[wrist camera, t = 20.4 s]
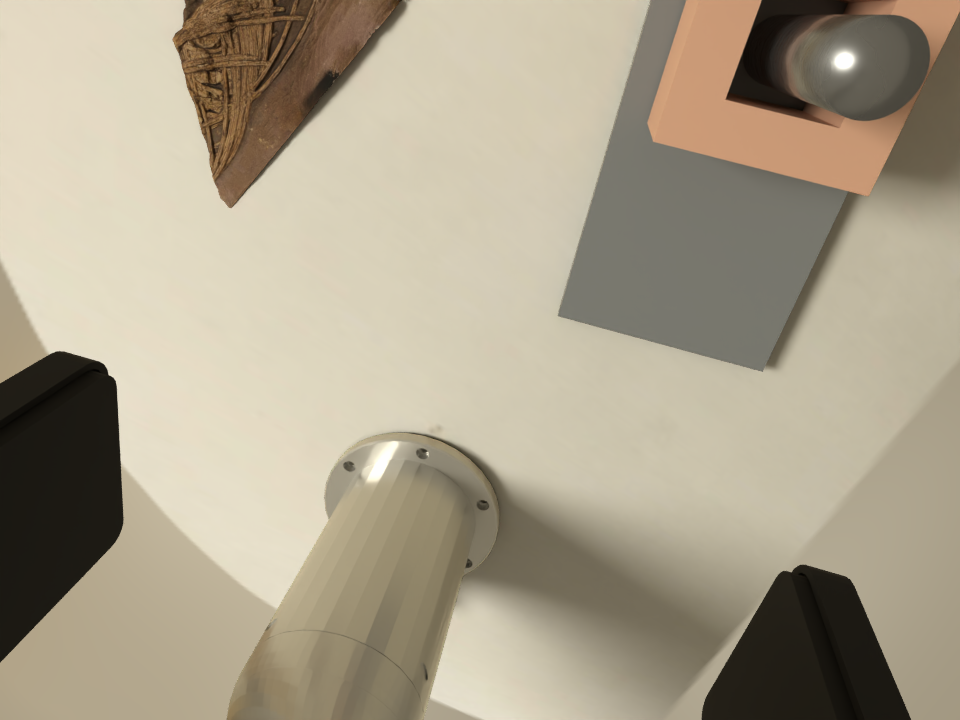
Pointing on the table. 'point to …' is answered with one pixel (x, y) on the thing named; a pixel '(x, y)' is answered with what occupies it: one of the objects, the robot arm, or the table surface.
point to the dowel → (840, 61)
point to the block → (770, 127)
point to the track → (696, 223)
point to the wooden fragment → (265, 72)
